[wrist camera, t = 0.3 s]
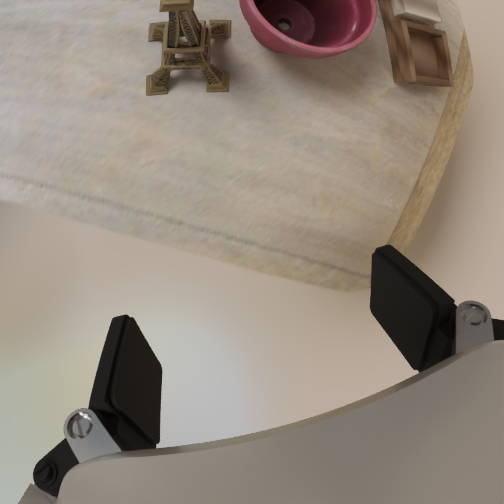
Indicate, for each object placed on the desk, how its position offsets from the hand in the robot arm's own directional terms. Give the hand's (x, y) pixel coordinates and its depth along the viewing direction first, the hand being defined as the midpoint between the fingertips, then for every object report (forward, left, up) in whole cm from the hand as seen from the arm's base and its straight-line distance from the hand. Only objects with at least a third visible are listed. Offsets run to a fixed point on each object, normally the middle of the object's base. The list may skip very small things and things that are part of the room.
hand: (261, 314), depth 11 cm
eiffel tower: (-16, -1, -31) cm, 35 cm away
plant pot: (-19, +12, -31) cm, 38 cm away
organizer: (-19, +34, -31) cm, 50 cm away
